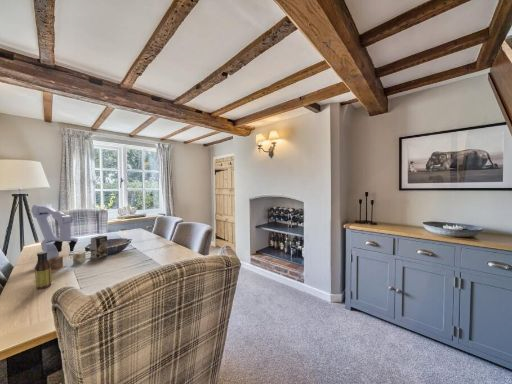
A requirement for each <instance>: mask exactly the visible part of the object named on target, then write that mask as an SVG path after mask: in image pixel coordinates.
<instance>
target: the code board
mask: <svg viewBox="0 0 512 384" xmlns="http://www.w3.org/2000/svg"><path fill="white" fill-rule="evenodd" d="M90 261H91V259H85V262H83V263H81V264H73V259H66V260H64V261H63V266H66V267H65V268H63V269H61V270H59V271H51V273H57V272H58V273H59V272H60V273H61V272H62V273H63V272H64V273H65V272H72V271H73V270H75V269H77V268H80V267H82V266H83V265H84V264H86V263H89V262H90Z"/></svg>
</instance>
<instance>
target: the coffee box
mask: <svg viewBox="0 0 512 384" xmlns="http://www.w3.org/2000/svg"><path fill="white" fill-rule="evenodd" d="M103 248H107V249H108V236H107V235H97V236H95V237H91V238H90V259H96V260H97V259H100V258H103V257H105V256H108V253H107V254H106V253H105V252H104V251H102V250H101V249H103Z"/></svg>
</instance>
